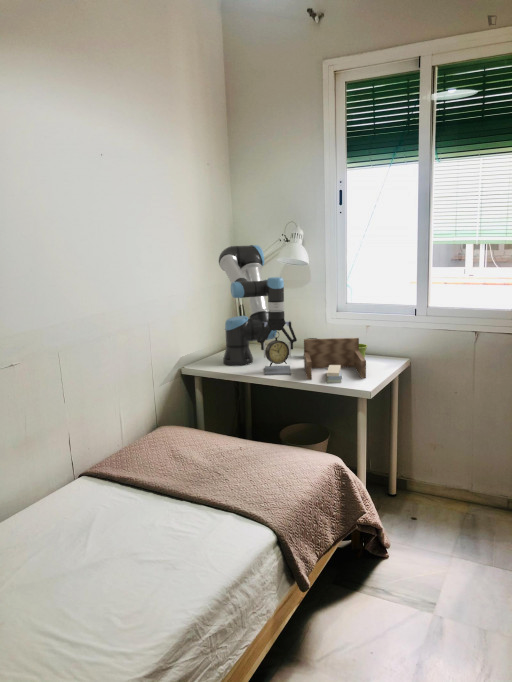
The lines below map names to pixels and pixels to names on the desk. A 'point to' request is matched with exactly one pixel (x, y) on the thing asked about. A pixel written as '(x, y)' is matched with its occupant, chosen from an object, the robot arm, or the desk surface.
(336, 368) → the book stack
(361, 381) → the desk surface
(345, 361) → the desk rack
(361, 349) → the plant pot
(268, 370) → the mat
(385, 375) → the desk surface
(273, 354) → the alarm clock
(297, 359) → the desk surface
